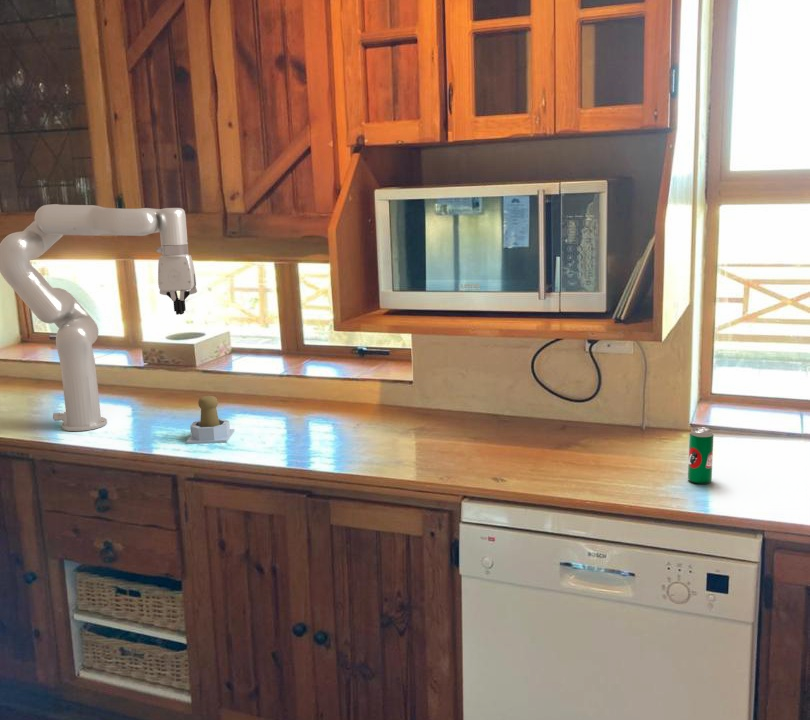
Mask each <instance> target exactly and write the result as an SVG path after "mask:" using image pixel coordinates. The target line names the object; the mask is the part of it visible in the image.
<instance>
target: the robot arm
mask: <svg viewBox="0 0 810 720" xmlns="http://www.w3.org/2000/svg"><path fill="white" fill-rule="evenodd" d="M187 232H188V231H187V217H186V211H185V209H183V208H181V207H166V208H165V207H164V208H161V209H160V208H152V207H150V208H149V207H143V208H142V207H141V208H118V207H116V208H113V207H104V206H100V205H93V204H91V205H89V204H87V205H86V204H57V203H55V204H53V203H52V204H44V205H42V206H40V207H39V208H37V210H36V212H35V214H34V220H33V221H32V222H31V223H30V224H29V225H28V226H27V227H26V228H25V229H24V230H23V231H16V232H12V233H10V234H7V235H6V236H5V237H4V238H3V239H2V241H0V275H1V276H2V278H3V279H4V281H6V283H7V284H8V285H9V286H10V287H11V288H12V289H13V291H14V292H15V293H16V294H17V296H18V297H19V298H20V299H21V300H22V302H23V303H24V304H25V305H26V306H27V307H28V308H29V310H30V311H31V312H32V313H33V314H34V316H35V317H36V318H37V319H38V320H40V321H41V322H42V323H45V324H49V325H51V324H55V326H56V327H57V328H58V330H57V332H56V335H55V344H56V345H55V346H56V351H57V354H58V355H57V356H58V358H59V365H60V373H61V374H60V375H61V379H62V380H61V382H62V390H63V398H64V405H65V407H64V408H65V411H64V412H62V413H61V412H53V414H52V418H53V420H54V421H62V423H61V429H62V430H63V431H69V432H82V431H90V430H91V431H92V430H95V429H99V428H102V427H104V426H106V425H107V424H108V420H107V418H106V417H103V416H101V415H102V414H101V407H100V395H99V386H98V376H97V369H96V362H95V361H96V360H95V356H94V351H93V344H95V342H96V341H97V340H98V338H99V328H98V325H97V323H96V320H94V318H93V317H91V315H90V314H89V313H88V312H87V311H86V309H84V307H83V306H82V305H81V303H79V301H78V300H77V299H76V298H75V297H74V295H72V293H70V292H69V291H68V290H65V288H64V289H63V288H60V287H53V286H52V285H51V284H50V283H49V282H48V280H46V279H45V277H44V276H43V275H42V274H41V273H40V272H39V271H38V270H37V269H36V268H35V267H34V266H33V265H32V263H31V261H33V260H36V259H38V258H39V257H41V256H42V255H44V254H45V253H46V252H47V251H48V250H50V248H52V246H53V245H54V244H55V243H57V242H58V241H59V240H60V239H61V238H63V236H96V237H97V236H98V237H100V236H129V237H131V236H134V237H137V236H139V237H143V236H149V235H151V234H157V233H160V235H159V237H160V246H159V247H156V251H155V252H156V253H159V254H161V256H158V264H157V265H158V266H157V267H158V268H157V284H158V289H159V294H160V295H162V296H167V297H169V299H171V301H172V302H173V311H174V312H175V315H178V316H179V315H184V314H185V312H186V300H187V298H188V297H189V296H190V295H193V294H197V293H198V290H197V280H196V278H197V277H196V272H195V267H194V261H193V258H192V255H191V254H189V241H188V233H187ZM178 292H179V295H178Z"/></svg>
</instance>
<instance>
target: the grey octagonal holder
mask: <svg viewBox="0 0 810 720" xmlns="http://www.w3.org/2000/svg"><path fill="white" fill-rule="evenodd" d="M218 419H219V423H220V425H218V426H214V427H200V420H196V421H193V422H192V424H190V437H188V438H187V440H186V441H185V442H186V444H188V445H189V444H213V443H214V444H215V443H216V444H217V443H221V444H222V443H228V442H229V440H230V438H231V437H232V436H233V434H234V432H235V428H230V420H228V419H224V418H219V417H218Z"/></svg>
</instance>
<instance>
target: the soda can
mask: <svg viewBox="0 0 810 720" xmlns="http://www.w3.org/2000/svg"><path fill="white" fill-rule="evenodd" d="M688 437H689V439H688V461H687V462H688V463H687V465H688V466H687V479H688V481H689V482H690V483H693V484H696V485H706V484H710V483H711V481H712V480H713V478H712V476H713V457H714V456H713V454H714V453H713V452H714V433H713V430H712V429H710V428H709V427H702V426H701V427H699V426H697V427H693V428H691V431H690V432H689V436H688Z"/></svg>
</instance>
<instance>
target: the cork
mask: <svg viewBox="0 0 810 720" xmlns="http://www.w3.org/2000/svg"><path fill="white" fill-rule="evenodd" d="M197 403H198V407H199V409H200V420H199V421H200V427H214V426H218V425H220V423H219V419H218V418H219V415H218V410H217V407H218V404H219V402H218V399H217V397H216V396H215V395H204V396H201V397H200V398H199V400H198V402H197Z"/></svg>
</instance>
